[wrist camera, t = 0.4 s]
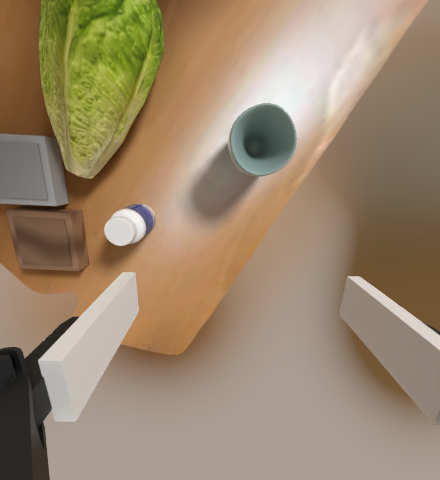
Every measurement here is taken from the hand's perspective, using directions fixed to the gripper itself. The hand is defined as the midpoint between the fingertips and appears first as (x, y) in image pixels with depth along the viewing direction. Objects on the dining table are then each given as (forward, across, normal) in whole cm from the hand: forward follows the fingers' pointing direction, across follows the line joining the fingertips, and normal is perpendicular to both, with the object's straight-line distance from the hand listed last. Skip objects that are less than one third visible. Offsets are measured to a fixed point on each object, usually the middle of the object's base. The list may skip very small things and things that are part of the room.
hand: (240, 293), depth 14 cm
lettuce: (+26, -17, +17) cm, 35 cm away
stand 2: (+25, -30, -4) cm, 39 cm away
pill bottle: (+26, -15, -1) cm, 30 cm away
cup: (+26, +4, +11) cm, 28 cm away
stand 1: (+25, -32, +7) cm, 41 cm away
